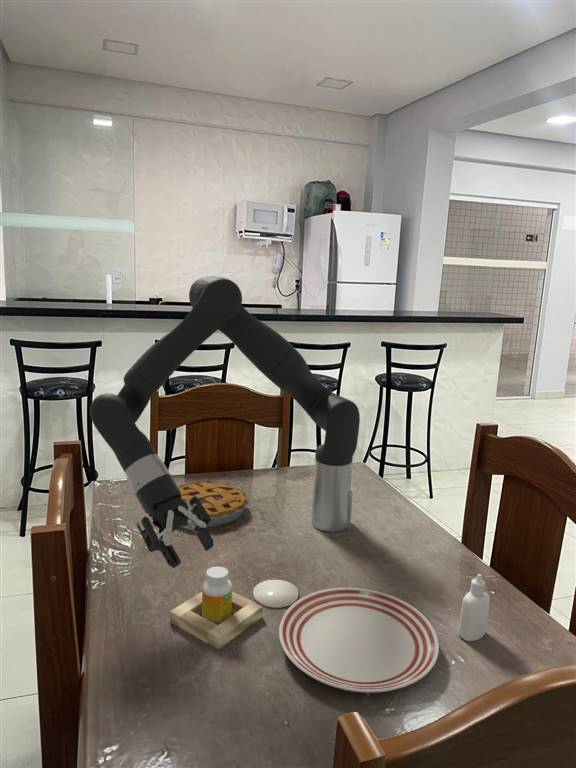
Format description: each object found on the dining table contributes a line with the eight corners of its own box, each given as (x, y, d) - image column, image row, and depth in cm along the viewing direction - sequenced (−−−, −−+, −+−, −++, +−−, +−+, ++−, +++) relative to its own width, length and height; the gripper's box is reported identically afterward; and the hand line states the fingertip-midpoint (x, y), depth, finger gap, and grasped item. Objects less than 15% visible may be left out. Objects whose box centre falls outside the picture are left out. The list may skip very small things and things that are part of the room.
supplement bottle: (226, 630, 105) (227, 581, 103) (197, 626, 106) (198, 577, 104) (234, 613, 110) (236, 566, 108) (207, 608, 111) (208, 562, 109)
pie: (147, 507, 155) (147, 489, 153) (217, 488, 169) (217, 472, 167) (191, 539, 138) (191, 519, 137) (264, 515, 152) (264, 498, 151)
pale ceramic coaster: (294, 581, 122) (294, 578, 122) (302, 606, 113) (302, 603, 113) (251, 583, 121) (251, 580, 120) (255, 609, 112) (255, 606, 112)
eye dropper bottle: (452, 627, 109) (459, 568, 106) (481, 626, 110) (489, 568, 107) (462, 642, 105) (469, 582, 102) (492, 641, 105) (500, 581, 103)
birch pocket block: (214, 593, 116) (215, 583, 116) (262, 616, 110) (262, 606, 109) (169, 622, 107) (169, 611, 106) (218, 649, 100) (218, 638, 100)
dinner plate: (402, 734, 84) (404, 714, 84) (247, 660, 98) (247, 642, 98) (457, 635, 107) (459, 619, 106) (325, 586, 121) (326, 572, 120)
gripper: (131, 484, 106) (176, 563, 102) (189, 464, 117) (230, 534, 113) (113, 503, 110) (155, 580, 106) (170, 482, 121) (210, 551, 117)
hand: (194, 556), depth 109 cm, fingers open, 8 cm apart
